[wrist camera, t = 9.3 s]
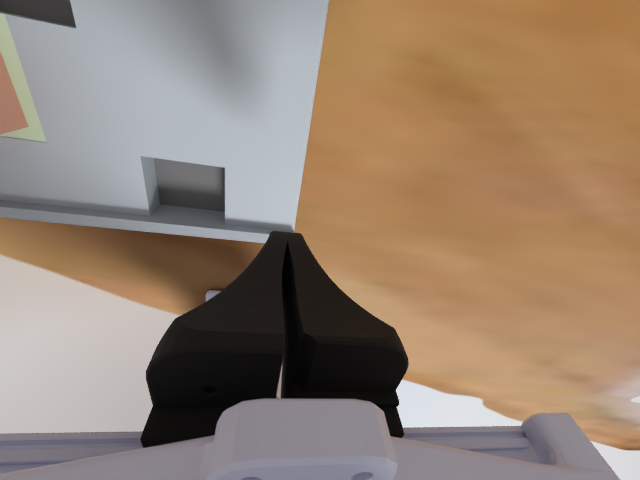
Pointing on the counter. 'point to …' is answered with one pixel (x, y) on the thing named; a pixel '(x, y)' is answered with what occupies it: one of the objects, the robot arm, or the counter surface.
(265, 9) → the trap board
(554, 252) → the counter surface
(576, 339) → the counter surface
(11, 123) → the block
